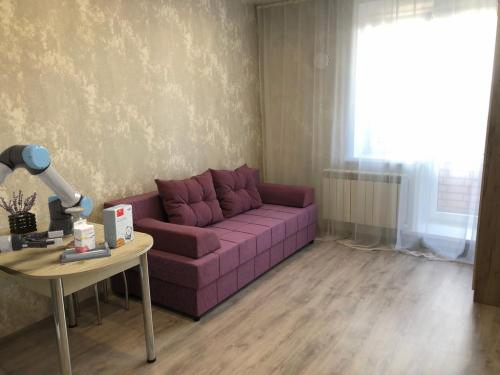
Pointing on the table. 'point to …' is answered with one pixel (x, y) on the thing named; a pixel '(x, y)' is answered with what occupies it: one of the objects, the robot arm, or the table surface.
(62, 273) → the table surface
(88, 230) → the ink cartridge box
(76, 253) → the rail cradle
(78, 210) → the candle holder
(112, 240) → the hard drive box
